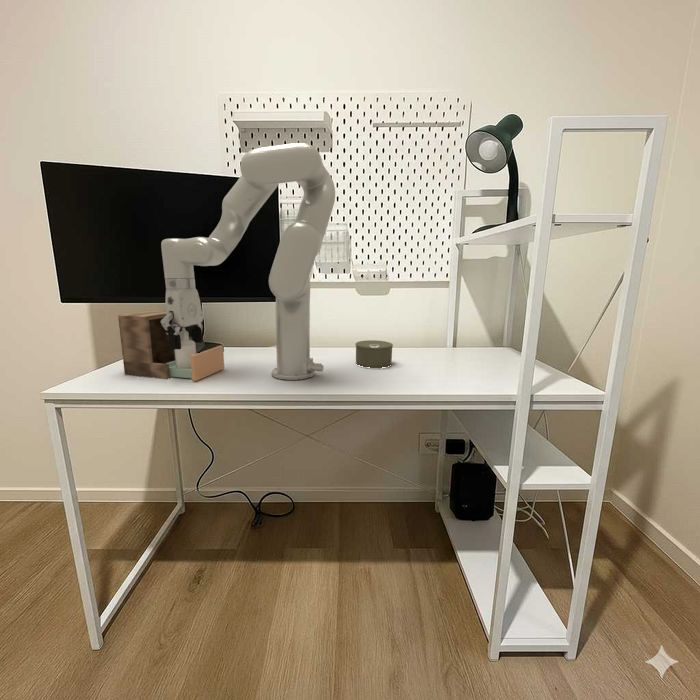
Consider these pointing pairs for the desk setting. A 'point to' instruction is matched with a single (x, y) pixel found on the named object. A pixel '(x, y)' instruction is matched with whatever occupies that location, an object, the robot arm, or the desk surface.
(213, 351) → the drawer
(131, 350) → the cabinet
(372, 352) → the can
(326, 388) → the desk surface
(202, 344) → the end cap
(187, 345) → the eye dropper bottle
